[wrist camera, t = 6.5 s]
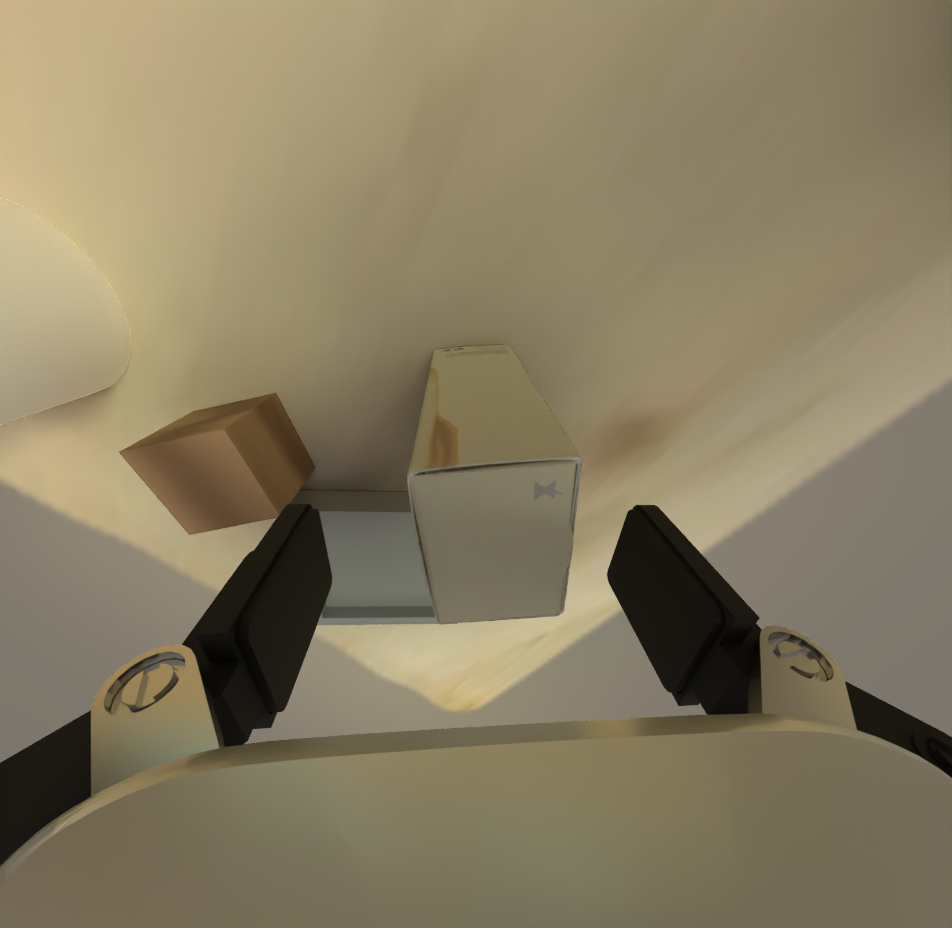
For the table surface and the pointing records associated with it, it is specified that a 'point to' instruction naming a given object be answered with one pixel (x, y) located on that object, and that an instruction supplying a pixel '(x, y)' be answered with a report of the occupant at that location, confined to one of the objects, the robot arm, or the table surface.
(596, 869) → the robot arm
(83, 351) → the base with upright slab
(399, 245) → the table surface
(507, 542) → the skincare box
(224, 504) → the walnut block
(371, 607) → the slate tray
